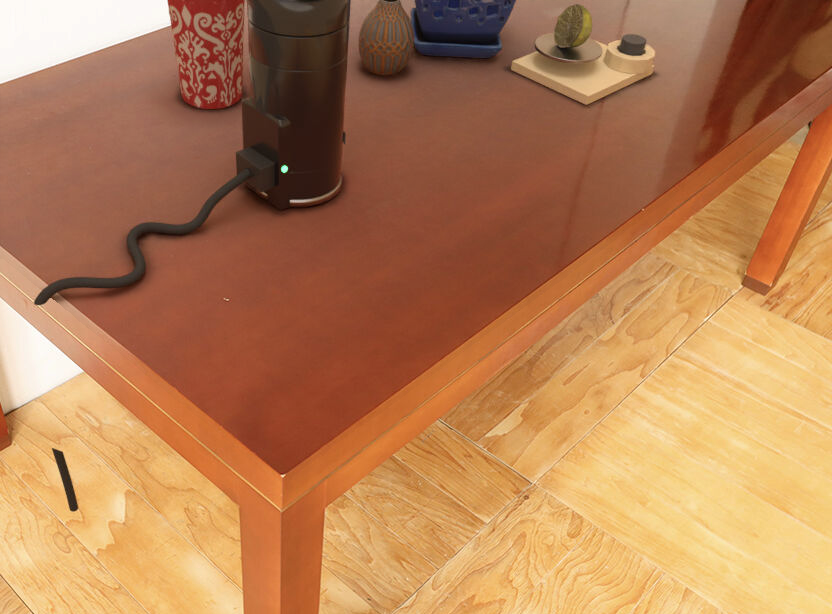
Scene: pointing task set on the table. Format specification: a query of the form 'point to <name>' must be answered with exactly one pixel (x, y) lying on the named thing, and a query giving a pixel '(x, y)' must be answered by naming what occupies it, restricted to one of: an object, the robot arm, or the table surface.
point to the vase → (386, 38)
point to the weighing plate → (568, 50)
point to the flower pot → (459, 27)
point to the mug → (209, 50)
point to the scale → (587, 72)
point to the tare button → (632, 45)
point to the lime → (573, 27)
